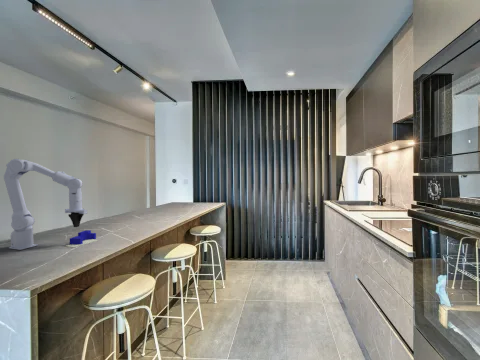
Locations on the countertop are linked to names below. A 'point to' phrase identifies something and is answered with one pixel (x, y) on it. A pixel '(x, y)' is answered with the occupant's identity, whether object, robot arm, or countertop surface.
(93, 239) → the mat
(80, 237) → the cable clip
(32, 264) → the countertop surface
